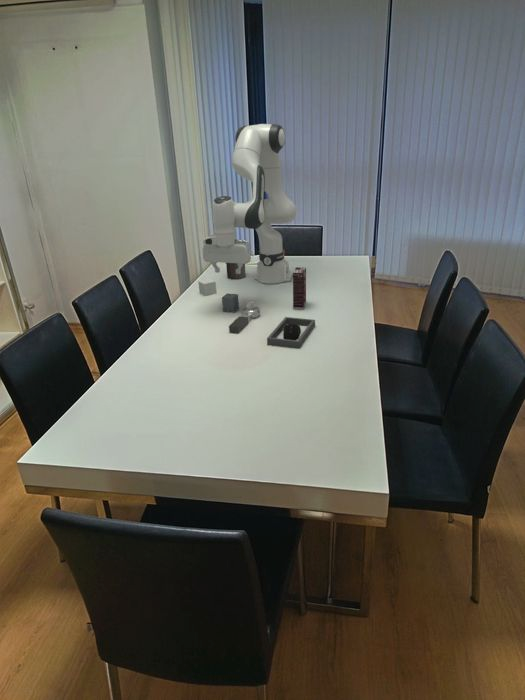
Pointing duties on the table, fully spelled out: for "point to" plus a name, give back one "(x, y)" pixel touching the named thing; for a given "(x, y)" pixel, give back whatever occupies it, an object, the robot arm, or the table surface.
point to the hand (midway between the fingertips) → (227, 272)
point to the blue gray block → (230, 303)
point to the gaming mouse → (291, 332)
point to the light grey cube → (207, 287)
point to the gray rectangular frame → (285, 342)
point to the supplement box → (299, 288)
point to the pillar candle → (232, 271)
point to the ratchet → (245, 318)
